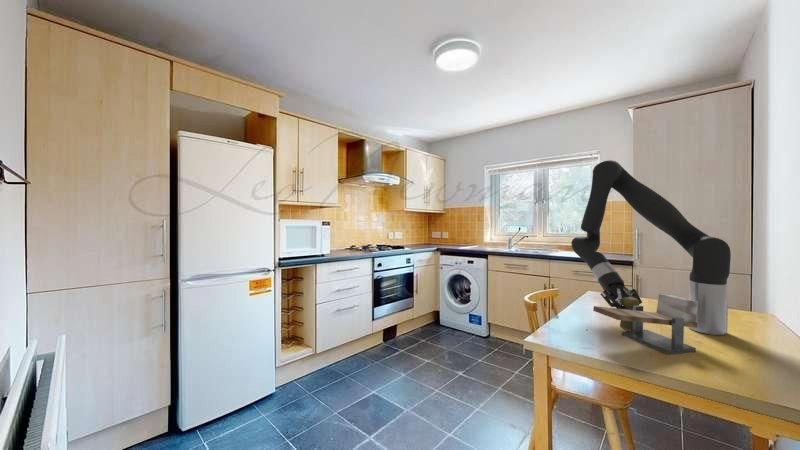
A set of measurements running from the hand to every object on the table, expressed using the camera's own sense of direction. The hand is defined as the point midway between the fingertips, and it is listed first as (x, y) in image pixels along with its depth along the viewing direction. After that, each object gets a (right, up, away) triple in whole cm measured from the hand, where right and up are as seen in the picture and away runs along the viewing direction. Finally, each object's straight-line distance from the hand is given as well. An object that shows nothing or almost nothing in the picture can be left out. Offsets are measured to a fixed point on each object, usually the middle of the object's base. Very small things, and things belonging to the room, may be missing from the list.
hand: (634, 316), depth 108 cm
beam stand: (-2, -5, -12) cm, 13 cm away
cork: (0, -5, +2) cm, 5 cm away
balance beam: (-7, +3, -13) cm, 15 cm away
